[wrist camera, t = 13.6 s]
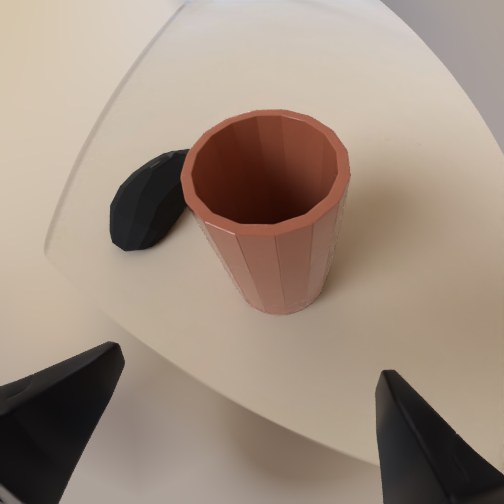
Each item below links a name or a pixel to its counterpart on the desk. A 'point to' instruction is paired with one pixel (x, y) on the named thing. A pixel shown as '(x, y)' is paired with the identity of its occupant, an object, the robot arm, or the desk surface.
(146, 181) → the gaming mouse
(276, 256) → the pen cup
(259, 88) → the desk surface
